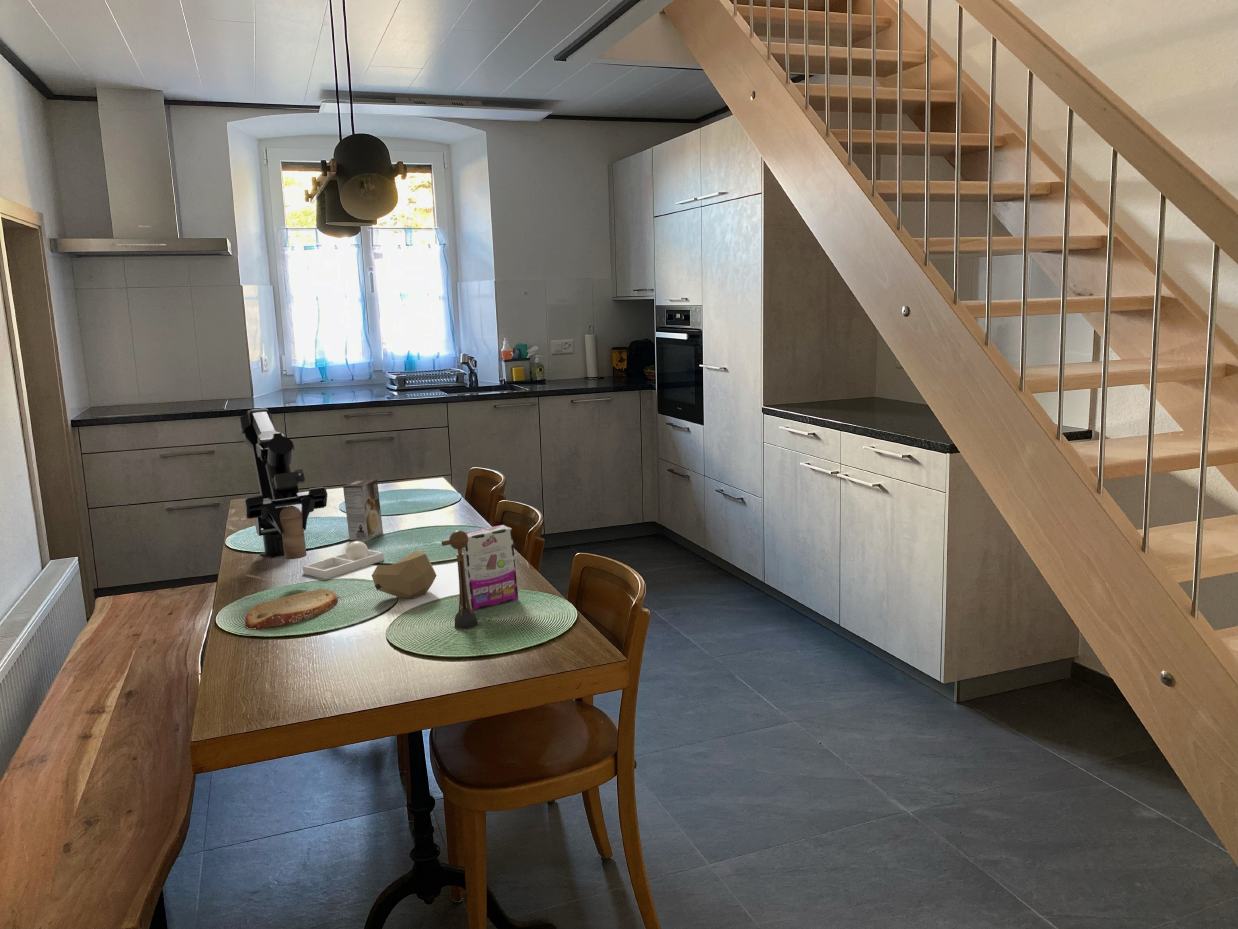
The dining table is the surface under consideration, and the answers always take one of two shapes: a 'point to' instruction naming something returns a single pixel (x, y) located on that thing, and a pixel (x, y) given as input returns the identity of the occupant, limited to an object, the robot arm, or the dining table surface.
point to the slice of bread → (290, 609)
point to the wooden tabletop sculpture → (462, 582)
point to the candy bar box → (490, 567)
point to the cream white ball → (356, 551)
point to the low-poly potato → (406, 576)
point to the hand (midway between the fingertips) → (293, 531)
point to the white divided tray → (340, 565)
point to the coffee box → (363, 509)
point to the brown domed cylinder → (292, 533)
